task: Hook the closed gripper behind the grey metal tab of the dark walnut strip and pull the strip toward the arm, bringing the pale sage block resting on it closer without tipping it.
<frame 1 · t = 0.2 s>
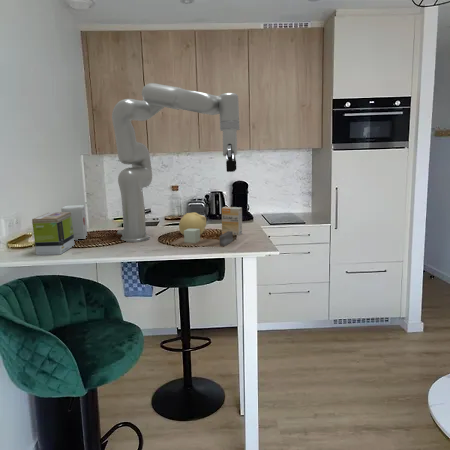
hand: (231, 170, 168), 30 cm above the counter, fingers open, 9 cm apart
tea box: (56, 251, 173), on the counter
walnut strip: (201, 238, 175), point 3 cm above the counter, slide at 0.0 cm, touching sage block
supplement box 2: (76, 239, 194), on the counter
sage block: (192, 241, 177), point 1 cm above the counter, touching walnut strip
supplement box: (232, 236, 191), on the counter
sculpture: (192, 236, 194), on the counter
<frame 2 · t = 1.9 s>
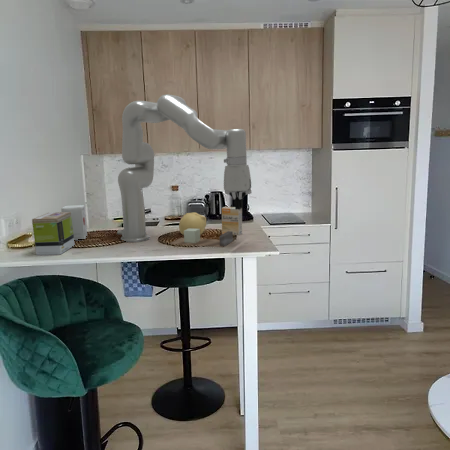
hand: (238, 208, 167), 15 cm above the counter, fingers closed
nothing on the counter moved.
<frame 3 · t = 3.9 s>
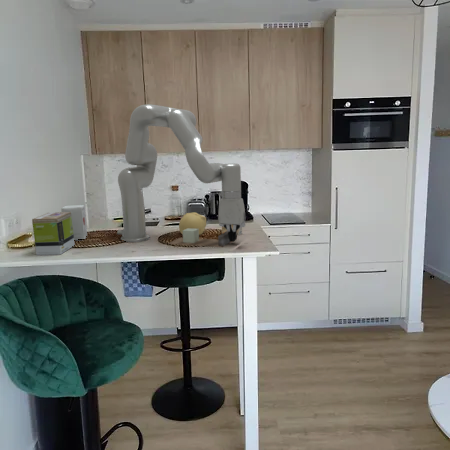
hand: (232, 240, 171), 2 cm above the counter, fingers closed
walnut strip: (199, 238, 175), point 3 cm above the counter, slide at 0.6 cm, touching gripper, sage block
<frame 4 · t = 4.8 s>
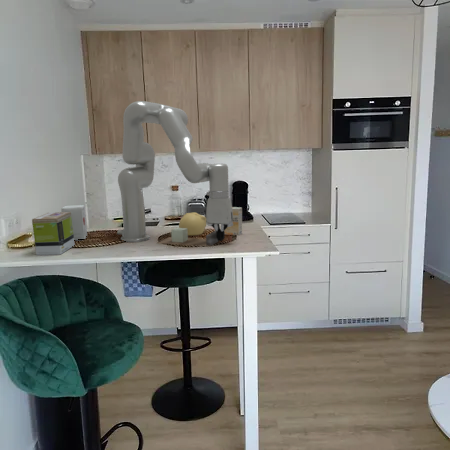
hand: (220, 240, 172), 2 cm above the counter, fingers closed
walnut strip: (188, 237, 177), point 3 cm above the counter, slide at 5.7 cm, touching gripper, sage block
sage block: (180, 240, 179), point 1 cm above the counter, touching walnut strip
everything else where it was.
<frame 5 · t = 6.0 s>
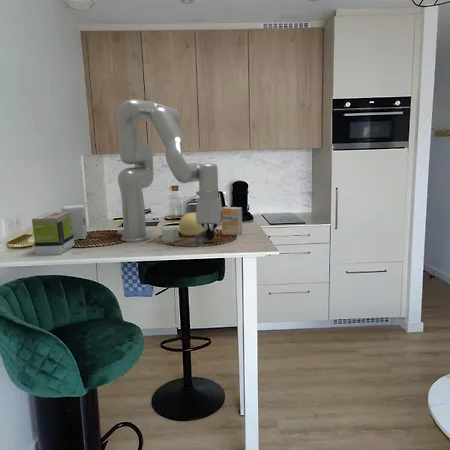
hand: (210, 239, 174), 2 cm above the counter, fingers closed
walnut strip: (178, 237, 179), point 3 cm above the counter, slide at 10.1 cm, touching gripper, sage block
sage block: (170, 240, 180), point 1 cm above the counter, touching walnut strip
everything else where it was.
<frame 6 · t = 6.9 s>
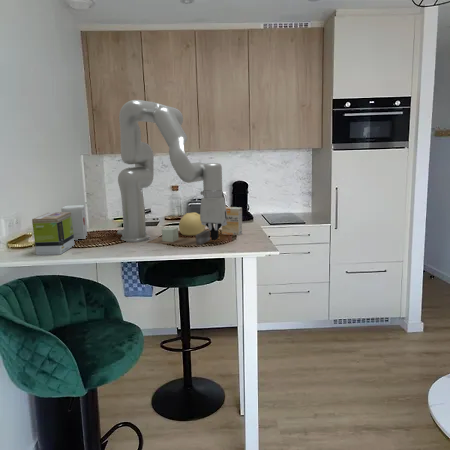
hand: (214, 239, 173), 3 cm above the counter, fingers closed
walnut strip: (178, 237, 179), point 3 cm above the counter, slide at 10.1 cm, touching sage block
everything else where it was.
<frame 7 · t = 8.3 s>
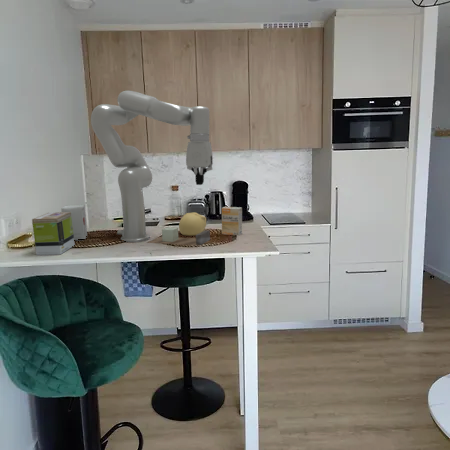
hand: (199, 184, 174), 25 cm above the counter, fingers closed
nothing on the counter moved.
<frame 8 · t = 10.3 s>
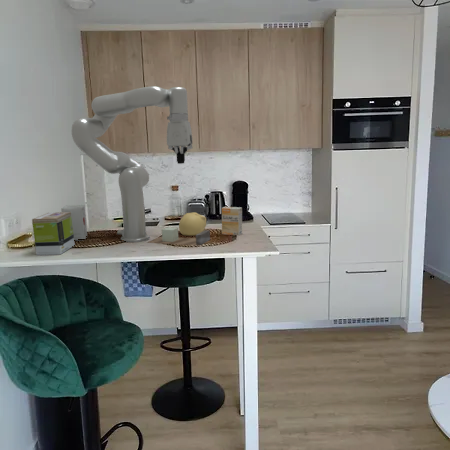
hand: (180, 163, 180), 33 cm above the counter, fingers closed
nothing on the counter moved.
at the end: walnut strip slide at 10.1 cm; sage block inside the target area (1.1 cm from its centre), point 1.2 cm above the counter; sage block tilted 0° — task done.
